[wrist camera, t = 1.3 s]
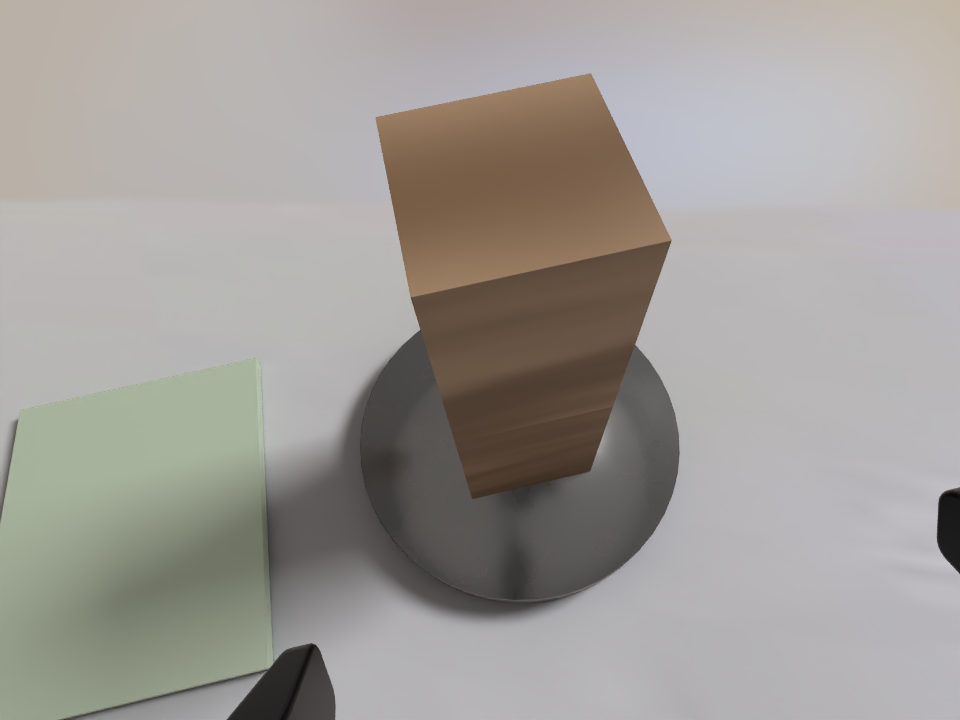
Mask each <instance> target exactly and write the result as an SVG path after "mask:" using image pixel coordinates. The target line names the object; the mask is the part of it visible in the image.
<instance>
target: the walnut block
mask: <svg viewBox="0 0 960 720" xmlns="http://www.w3.org/2000/svg"><path fill="white" fill-rule="evenodd" d="M376 122H377V127H378V132H379V137H380V143H381V148H382V153H383V158H384V163H385V168H386V173H387V178H388V184H389V189H390V193H391V199H392V204H393V209H394V214H395V219H396V224H397V230H398V235H399V240H400V245H401V250H402V255H403V260H404V265H405V270H406V276H407V281H408V286H409V291H410V296H411V300H412V303H413V306H414V310H415V313H416V316H417V320H418V323H419V326H420V329H421V333H422V336H423V339H424V343H425V346H426V349H427V352H428V356H429V359H430V362H431V365H432V369H433V372H434V375H435V379H436V382H437V385H438V388H439V392H440V395H441V398H442V402H443V405H444V408H445V411H446V415H447V418H448V421H449V425H450V428H451V431H452V434H453V438H454V441H455V444H456V448H457V451H458V454H459V457H460V461H461V464H462V467H463V471H464V474H465V477H466V480H467V484H468V487H469V490H470V494H471V497H472V499H475V498H480V497H484V496H488V495H492V494H497V493H501V492H505V491H509V490H514V489H518V488H522V487H526V486H531V485H535V484H539V483H543V482H548V481H552V480H556V479H560V478H565V477H569V476H573V475H577V474H582V473H586V472H590V471H591V468H592V465H593V462H594V459H595V457H596V454H597V451H598V448H599V445H600V442H601V440H602V437H603V434H604V431H605V428H606V425H607V423H608V420H609V417H610V414H611V411H612V408H613V405H614V403H615V400H616V397H617V394H618V391H619V388H620V386H621V383H622V380H623V377H624V374H625V371H626V369H627V366H628V363H629V360H630V357H631V354H632V352H633V349H634V346H635V343H636V340H637V337H638V335H639V332H640V329H641V326H642V323H643V320H644V317H645V315H646V312H647V309H648V306H649V303H650V300H651V298H652V295H653V292H654V289H655V286H656V283H657V281H658V278H659V275H660V272H661V269H662V266H663V264H664V261H665V258H666V255H667V252H668V249H669V246H670V244H671V241H672V240H671V238H670V236H669V234H668V232H667V230H666V228H665V226H664V224H663V222H662V219H661V217H660V215H659V213H658V211H657V209H656V207H655V205H654V203H653V201H652V199H651V197H650V195H649V193H648V190H647V188H646V186H645V185H644V182H643V180H642V178H641V176H640V174H639V172H638V170H637V168H636V166H635V164H634V162H633V160H632V157H631V155H630V153H629V151H628V149H627V147H626V145H625V143H624V141H623V139H622V137H621V135H620V133H619V130H618V128H617V127H616V124H615V122H614V120H613V118H612V116H611V114H610V112H609V110H608V108H607V106H606V104H605V101H604V99H603V98H602V95H601V93H600V91H599V89H598V87H597V85H596V83H595V81H594V79H593V77H592V75H591V74H586V75H581V76H576V77H571V78H566V79H562V80H557V81H552V82H546V83H542V84H537V85H532V86H527V87H522V88H517V89H512V90H507V91H502V92H498V93H493V94H488V95H483V96H478V97H473V98H468V99H463V100H459V101H453V102H449V103H444V104H439V105H434V106H429V107H424V108H419V109H415V110H410V111H405V112H400V113H395V114H390V115H385V116H380V117H376Z"/></svg>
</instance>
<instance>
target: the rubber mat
mask: <svg viewBox="0 0 960 720" xmlns="http://www.w3.org/2000/svg"><path fill="white" fill-rule="evenodd" d="M272 665H273V646H272V623H271V600H270V576H269V553H268V529H267V506H266V483H265V459H264V436H263V413H262V389H261V366H260V362H259V361H258V360H257V359H256V358H254V359H250V360H245V361H241V362H236V363H231V364H227V365H222V366H218V367H213V368H209V369H204V370H200V371H195V372H191V373H186V374H182V375H177V376H173V377H168V378H163V379H159V380H154V381H150V382H145V383H141V384H136V385H132V386H127V387H123V388H118V389H114V390H109V391H105V392H100V393H96V394H91V395H86V396H82V397H77V398H73V399H68V400H64V401H59V402H55V403H50V404H46V405H41V406H37V407H32V408H28V409H23V410H20V413H19V419H18V425H17V430H16V436H15V442H14V447H13V453H12V459H11V465H10V470H9V476H8V482H7V488H6V493H5V499H4V505H3V510H2V516H1V522H0V720H64V719H68V718H72V717H76V716H80V715H84V714H88V713H92V712H96V711H101V710H105V709H109V708H113V707H117V706H121V705H125V704H129V703H133V702H137V701H141V700H146V699H150V698H154V697H158V696H162V695H166V694H170V693H174V692H178V691H182V690H186V689H190V688H195V687H199V686H203V685H207V684H211V683H215V682H219V681H223V680H227V679H231V678H235V677H240V676H244V675H248V674H252V673H256V672H260V671H264V670H268V669H269V668H270V667H271V666H272Z"/></svg>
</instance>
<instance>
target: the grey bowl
mask: <svg viewBox="0 0 960 720" xmlns="http://www.w3.org/2000/svg"><path fill="white" fill-rule="evenodd" d="M360 451H361V467H362V472H363V477H364V482H365V486H366V489H367V492H368V495H369V498H370V501H371V504H372V506H373V508H374V510H375V512H376V514H377V516H378V518H379V519H380V521H381V523H382V525H383V526H384V528H385V529H386V530H387V532H388V533H389V535H390V536H391V538H392V539H393V540H394V542H395V543H396V544H397V545H398V546H399V547H400V548H401V549H402V550H403V551H404V552H405V553H406V554H407V555H408V556H409V557H410V558H411V559H412V560H413V561H414V562H415V563H416V564H418V565H419V566H420V567H421V568H423V569H424V570H425V571H426V572H428V573H429V574H430V575H432V576H433V577H435V578H437V579H438V580H440V581H442V582H443V583H445V584H447V585H449V586H451V587H453V588H455V589H458V590H460V591H463V592H465V593H467V594H470V595H474V596H477V597H481V598H485V599H489V600H494V601H503V602H512V603H523V602H541V601H546V600H552V599H558V598H562V597H565V596H568V595H571V594H574V593H577V592H580V591H582V590H584V589H587V588H589V587H591V586H593V585H595V584H597V583H599V582H601V581H602V580H604V579H605V578H607V577H608V576H610V575H611V574H612V573H614V572H615V571H617V570H618V569H620V568H621V567H622V566H623V565H624V564H625V563H626V562H627V561H628V560H629V559H630V558H631V557H633V556H634V555H635V554H636V553H637V552H638V551H639V550H640V549H641V547H642V546H643V545H644V544H645V542H646V541H647V540H648V539H649V537H650V536H651V535H652V534H653V532H654V531H655V529H656V527H657V526H658V524H659V522H660V521H661V519H662V517H663V516H664V514H665V511H666V509H667V506H668V504H669V502H670V499H671V497H672V494H673V490H674V486H675V482H676V478H677V474H678V463H679V433H678V428H677V422H676V417H675V413H674V410H673V407H672V404H671V401H670V398H669V395H668V393H667V391H666V389H665V387H664V385H663V382H662V380H661V378H660V377H659V375H658V374H657V372H656V371H655V369H654V368H653V366H652V365H651V363H650V362H649V360H648V359H647V358H646V357H645V356H644V354H643V353H642V352H641V351H640V350H639V349H638V348H637V346H634V349H633V352H632V354H631V357H630V360H629V363H628V366H627V369H626V371H625V374H624V377H623V380H622V383H621V386H620V388H619V391H618V394H617V397H616V400H615V403H614V405H613V408H612V411H611V414H610V417H609V420H608V423H607V425H606V428H605V431H604V434H603V437H602V440H601V442H600V445H599V448H598V451H597V454H596V457H595V459H594V462H593V465H592V468H591V471H590V472H586V473H582V474H577V475H573V476H569V477H565V478H560V479H556V480H552V481H548V482H543V483H539V484H535V485H531V486H526V487H522V488H518V489H514V490H509V491H505V492H501V493H497V494H492V495H488V496H484V497H480V498H475V499H472V497H471V494H470V490H469V487H468V484H467V480H466V477H465V474H464V471H463V467H462V464H461V461H460V457H459V454H458V451H457V448H456V444H455V441H454V438H453V434H452V431H451V428H450V425H449V421H448V418H447V415H446V411H445V408H444V405H443V402H442V398H441V395H440V392H439V388H438V385H437V382H436V379H435V375H434V372H433V369H432V365H431V362H430V359H429V356H428V352H427V349H426V346H425V343H424V339H423V336H422V333H421V330H420V331H418V332H417V333H416V334H415V335H414V336H413V337H411V338H410V339H409V340H408V341H407V342H406V343H405V344H404V345H403V346H402V347H401V348H400V349H399V350H398V351H397V352H396V354H395V355H394V356H393V357H392V358H391V359H390V361H389V362H388V364H387V365H386V367H385V368H384V370H383V371H382V373H381V374H380V376H379V378H378V380H377V382H376V384H375V386H374V388H373V390H372V392H371V395H370V398H369V401H368V403H367V406H366V410H365V414H364V419H363V423H362V430H361V442H360Z"/></svg>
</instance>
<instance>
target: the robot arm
mask: <svg viewBox="0 0 960 720" xmlns="http://www.w3.org/2000/svg"><path fill="white" fill-rule="evenodd" d="M937 543H938V547H939V549H940V551H941V553H942V554H943V556H944V557H945V558H946V560H947V561H948V562H949V563H950V564H951V565H952V566H953V567H954V568H955V569H956V570H957V571H958V572H959V574H960V487H959V488H955V489H951V490H947V491H945V492H943V493H942V495H941V496H940V498H939V502H938V523H937ZM335 706H336V705H335V695H334V690H333V686H332V684H331V681H330V678H329V675H328V672H327V669H326V667H325V664H324V661H323V658H322V655H321V652H320V650H319V648H318V647H317V646H316V645H315V644H312V643H311V644H306V645H302V646H298V647H293V648H290V649H287V650H285V651H284V652H283V653H282V654H281V655H280V656H279V657H278V659H277V660H276V661H275V662H274V663H273V665H272V666H271V667H270V668H269V669H268V671H267V672H266V673H265V674H264V675H263V677H262V678H261V679H260V680H259V681H258V683H257V684H256V685H255V686H254V687H253V689H252V690H251V691H250V692H249V693H248V695H247V696H246V697H245V698H244V700H243V701H242V702H241V703H240V704H239V706H238V707H237V708H236V709H235V710H234V712H233V713H232V714H231V715H230V716H229V718H228V719H227V720H335Z"/></svg>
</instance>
